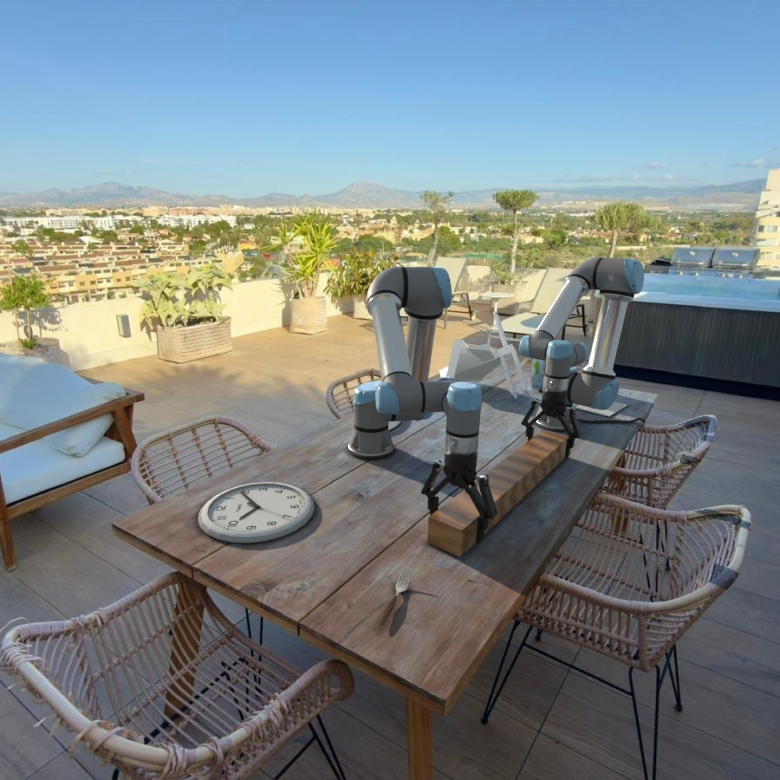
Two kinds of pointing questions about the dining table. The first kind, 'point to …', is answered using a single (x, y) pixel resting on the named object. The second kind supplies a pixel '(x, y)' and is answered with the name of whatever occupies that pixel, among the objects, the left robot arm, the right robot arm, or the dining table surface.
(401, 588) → the fork
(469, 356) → the white plastic object
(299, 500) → the wall clock
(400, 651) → the dining table surface
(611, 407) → the invitation card
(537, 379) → the lunch box
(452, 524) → the wide beam
